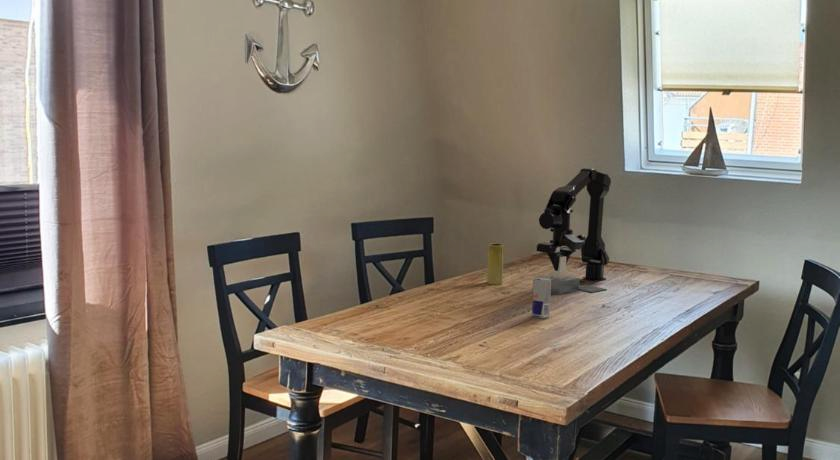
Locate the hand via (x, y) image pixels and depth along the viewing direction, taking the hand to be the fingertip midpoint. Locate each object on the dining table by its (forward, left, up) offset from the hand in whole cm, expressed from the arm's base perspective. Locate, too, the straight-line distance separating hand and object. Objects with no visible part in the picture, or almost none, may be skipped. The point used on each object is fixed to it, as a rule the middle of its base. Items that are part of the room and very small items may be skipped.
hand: (559, 270), depth 302 cm
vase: (+11, -21, -7) cm, 25 cm away
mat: (-10, +6, -7) cm, 14 cm away
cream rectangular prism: (0, 0, -3) cm, 3 cm away
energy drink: (+33, +23, -7) cm, 41 cm away
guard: (0, 0, -7) cm, 7 cm away
